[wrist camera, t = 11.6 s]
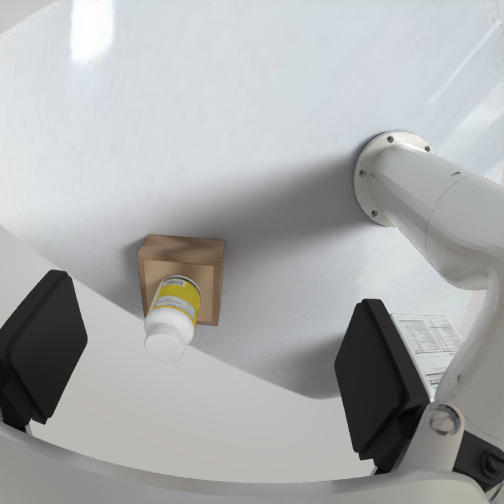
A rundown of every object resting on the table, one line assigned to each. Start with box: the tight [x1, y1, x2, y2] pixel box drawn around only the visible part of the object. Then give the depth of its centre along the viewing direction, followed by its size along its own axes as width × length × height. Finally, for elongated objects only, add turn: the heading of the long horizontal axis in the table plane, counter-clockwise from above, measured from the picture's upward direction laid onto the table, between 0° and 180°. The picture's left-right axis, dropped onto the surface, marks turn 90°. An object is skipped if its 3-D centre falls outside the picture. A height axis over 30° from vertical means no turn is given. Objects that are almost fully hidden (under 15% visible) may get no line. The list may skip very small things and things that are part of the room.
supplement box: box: [390, 314, 463, 402], centre depth 41 cm, size 13×13×18 cm
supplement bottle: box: [144, 275, 201, 362], centre depth 33 cm, size 5×5×10 cm
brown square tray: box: [137, 234, 224, 326], centre depth 39 cm, size 10×10×5 cm
